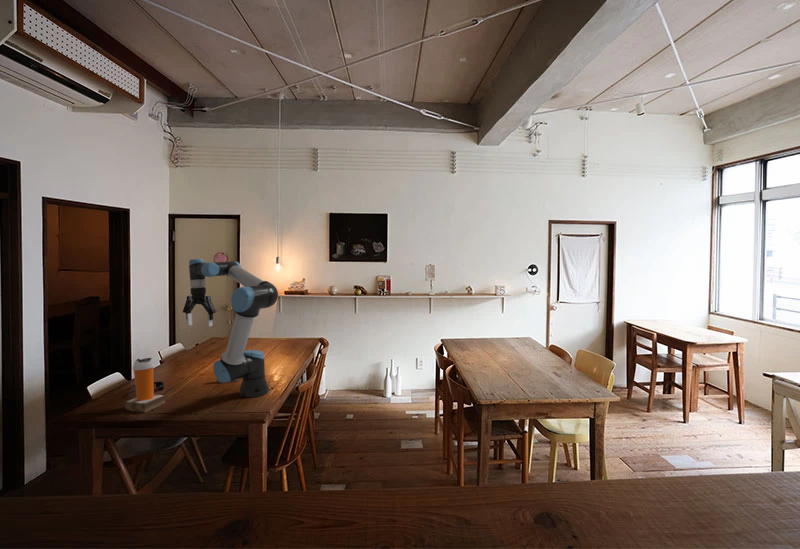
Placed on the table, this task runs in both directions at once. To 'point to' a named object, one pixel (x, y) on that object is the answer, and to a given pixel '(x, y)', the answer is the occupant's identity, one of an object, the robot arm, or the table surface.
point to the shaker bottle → (144, 378)
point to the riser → (145, 403)
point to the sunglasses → (158, 385)
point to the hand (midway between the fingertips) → (200, 325)
